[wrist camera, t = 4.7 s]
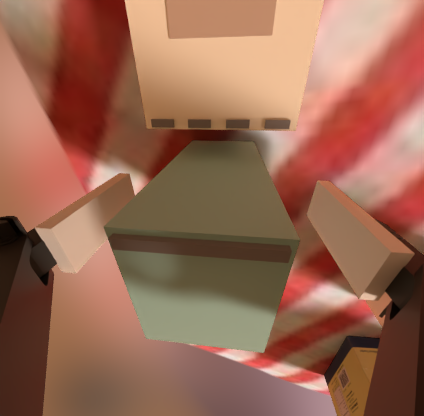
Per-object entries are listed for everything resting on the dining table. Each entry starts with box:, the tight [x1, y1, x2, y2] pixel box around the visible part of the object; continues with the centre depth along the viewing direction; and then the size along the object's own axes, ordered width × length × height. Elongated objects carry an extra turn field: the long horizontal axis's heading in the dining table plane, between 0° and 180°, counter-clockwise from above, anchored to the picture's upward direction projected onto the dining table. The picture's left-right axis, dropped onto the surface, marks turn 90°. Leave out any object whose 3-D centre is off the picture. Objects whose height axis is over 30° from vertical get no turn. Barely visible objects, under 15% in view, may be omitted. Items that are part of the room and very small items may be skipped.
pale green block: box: [104, 140, 300, 353], centre depth 11 cm, size 6×5×12 cm
